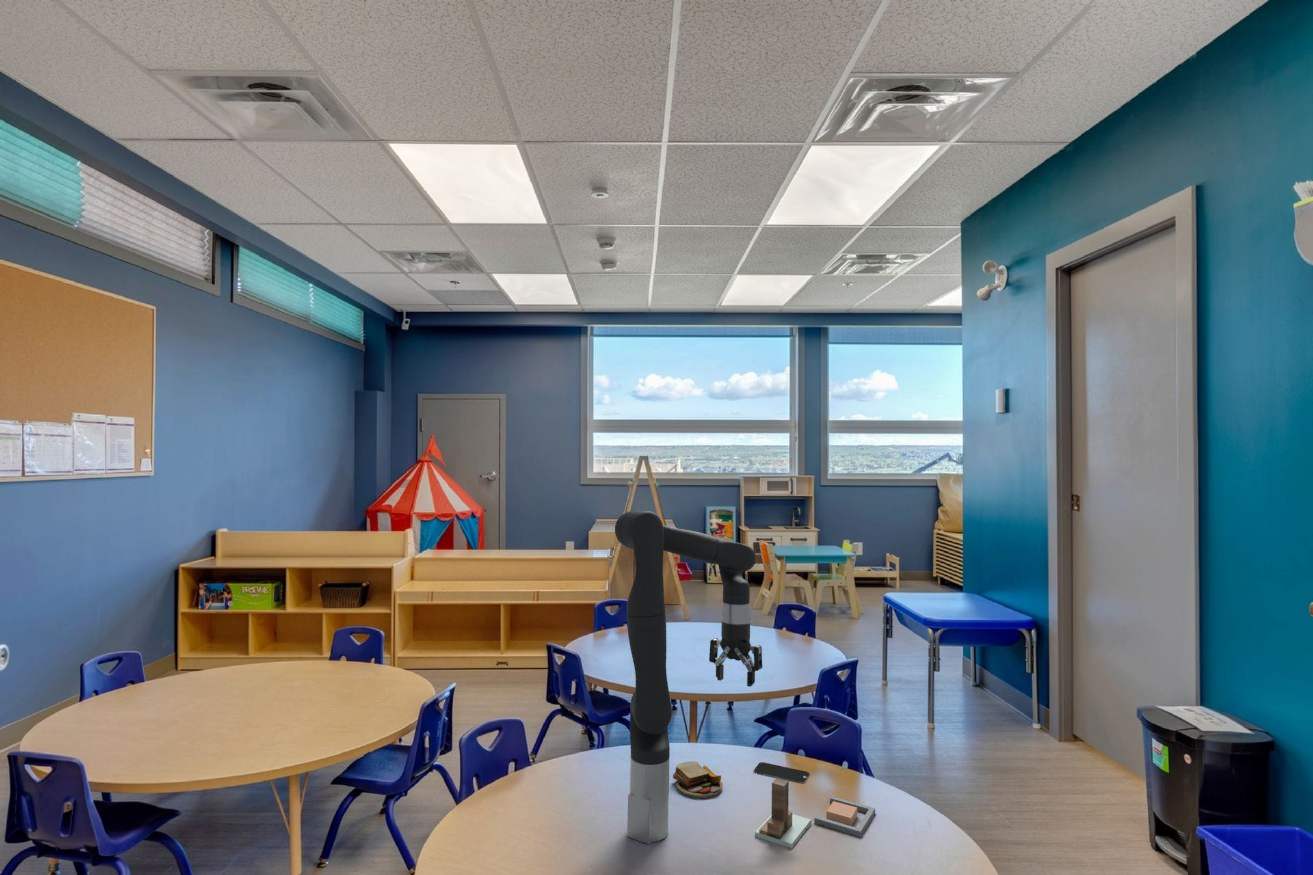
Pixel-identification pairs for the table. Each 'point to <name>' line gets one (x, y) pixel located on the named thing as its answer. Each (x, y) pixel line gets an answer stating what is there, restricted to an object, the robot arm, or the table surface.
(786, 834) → the board
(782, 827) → the brown block
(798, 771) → the smartphone
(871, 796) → the table surface
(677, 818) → the table surface
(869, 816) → the bay
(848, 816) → the tile
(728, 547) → the robot arm
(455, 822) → the table surface
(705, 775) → the toy sandwich meal
